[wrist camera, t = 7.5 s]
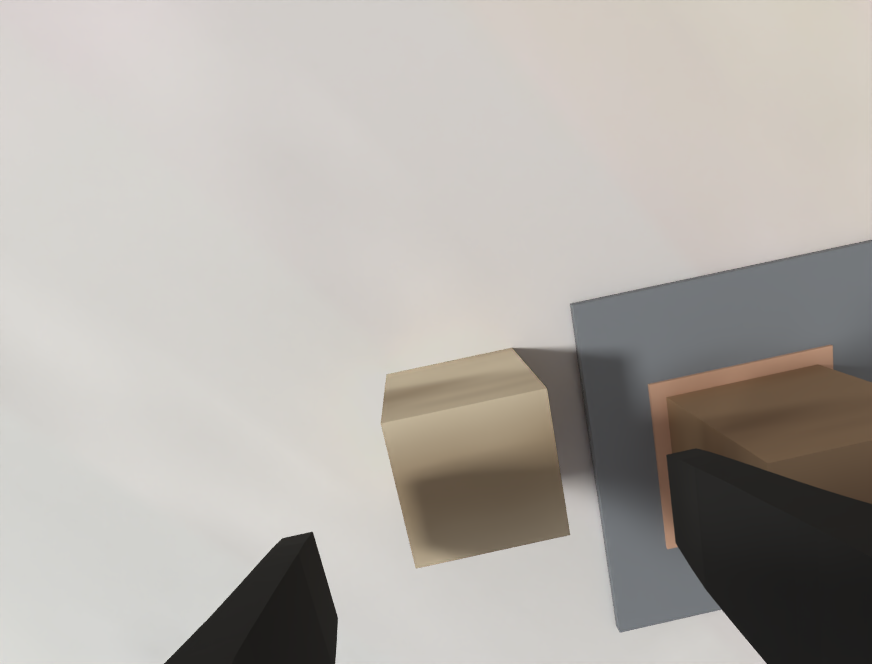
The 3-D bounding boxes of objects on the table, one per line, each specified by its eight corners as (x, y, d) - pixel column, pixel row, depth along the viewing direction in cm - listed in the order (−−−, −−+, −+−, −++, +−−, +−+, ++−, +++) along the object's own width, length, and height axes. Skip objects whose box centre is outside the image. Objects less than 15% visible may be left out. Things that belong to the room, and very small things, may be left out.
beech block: (531, 461, 17) (570, 534, 13) (412, 487, 17) (415, 568, 13) (511, 347, 16) (546, 387, 12) (386, 373, 16) (381, 423, 12)
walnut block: (822, 502, 17) (968, 598, 13) (680, 534, 17) (777, 642, 13) (818, 364, 16) (975, 417, 12) (666, 397, 16) (766, 463, 11)
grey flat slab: (882, 565, 18) (892, 573, 18) (616, 625, 18) (621, 634, 18) (881, 237, 16) (893, 238, 15) (569, 304, 15) (574, 305, 15)
